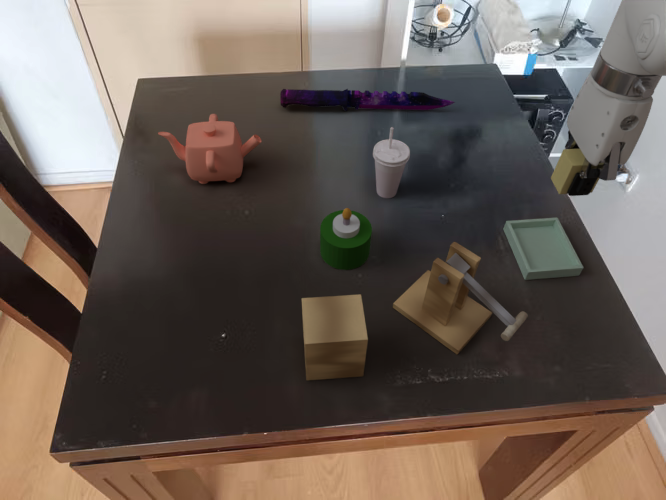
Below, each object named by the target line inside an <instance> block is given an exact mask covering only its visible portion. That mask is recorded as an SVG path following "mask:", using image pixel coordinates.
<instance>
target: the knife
mask: <svg viewBox="0 0 666 500" xmlns="http://www.w3.org/2000/svg"><path fill="white" fill-rule="evenodd" d="M279 96H280V99H279V100H280V106H281V107H282V108H283V109H286V108H288V106H305V107H309V108H327V107H338V106H340V107H341V108H342V109H343V111H344V112H348V108H354V110H357V111H358V110H359V109H363V110H364V109H366V110H367V109H370V110H372V109H373V110H411V111H430V110H436V109H441V108H445V107H448V106H451V105H453V104H455V103H456V101H453V100H449V99H445V98H440V97H435V96H432V95H429V94H428V93H425V92H421V91H410V92H409V93H407V92H406V91H404V90H403V91H401V92H400V93H399V92H397V90H392V91H391V92H389V91H386V90H383V91H382V92H380V91H378V90H373V92H371V91H369V90H365V91H364V92H362V91H361V90H359V89H356V90H355V89H349V88H346V89H343V90H341V89H340V90H338V89H337V90H335V89H334V90H333V89H331V90H330V89H288V88H287V89H286V88H283V89H281V90H280V95H279Z"/></svg>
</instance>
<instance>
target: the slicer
mask: <svg viewBox="0 0 666 500" xmlns="http://www.w3.org/2000/svg"><path fill="white" fill-rule="evenodd" d="M455 253H457V254H458V255H459V256H460V257H461V258H462V259H463V260H464V261H465V262H466V263H467V264H468V265H469V266H470V268H469V269H468V270H467V271H466V272H467V273H468V274H469V275H470V276H471V277H472V278H473V279H474V280H475V276H476V274H477V271H478V268H479V266H480V262H481V260H482V258H481V256H479V255H477V254H475V253H474V252H473V251H471V250H469V249H468V248H466V247H465V246H463V245H461V244H459V243H458V242H457V241H453V242H452V243H451V244H450V245H449V250H448V252H447V257H446V259H445V261H444V260H443V259H441V258H439V257H436V258H435V259H434V260H433V262H432V266H431V270H429V269H427V270H426V271H425V272H424V273H423V274H422V275H421V276H420V277H419V278H418V279H417V280H416V281H415V282H414V283H413V284H411V286H410V287H408V288H407V289H406V290H405V292H403V293H402V294H401V295H400V296H399V297H398V298H397V299H396V300H395V301H394V302H393V303H392V308H393V309H394V310H395V311H397V312H398V313H399V314H401V315H402V316H403V317H405V318H406V319H408V320H409V321H410V322H412V324H414V325H416V326H417V327H418V328H420V329H421V330H422V331H424V332H425V333H426V334H428V335H429V336H430V337H432V338H434V339H435V340H436V341H437V342H439V343H440V344H442V345H443V346H444V347H446V348H447V349H449V351H451V352H452V353H454V354H455V355H459V354H460V353H461V352H462V351H463V349H464V348H465V347H466V346H467V344H469V342H470V341H471V340H472V339H473V338H474V337H475V336H476V334H477V333H478V332H479V331H480V329H482V327H484V325H485V324H486V323H487V322H488V321H489V320H490V318H492V315H493V312H492V311H491V310H490V309H489V308H486V306H483V305H482V304H480V303H479V302H478V301H475V300H474V299H473V298H472V297H470V296H469V293H470V292H471V290H470V289H468V288H467V287H466V286H465V285H464V284H463V283H462V282H463V279H464V276H465V275H464V274H462V273H461V272H459V271H458V270H456V269H455V268H453V267H452V266H450V265H449V264H447V263H446V262H447V261H448V260H449V259H450V258H451V257H452V256H453V255H454V254H455Z"/></svg>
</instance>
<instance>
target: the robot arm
mask: <svg viewBox="0 0 666 500" xmlns="http://www.w3.org/2000/svg"><path fill="white" fill-rule="evenodd" d="M662 77H666V0H621V1H620V4H619V6H618V8H617V11H616V13H615V15H614V18H613V20H612V23H611V25H610V26H609V30H608V32H607V33H606V36H605V39H604V41H603V43H602V46H601V48H600V50H599V53H598V55H597V57H596V59H595V62H594V64H593V66H592V69H591V71H590V72H589V73H588V75H587V77H586V78H585V80H584V82H583V83H582V85H581V87H580V89H579V91H578V92H577V95H576V97H575V99H574V101H573V102H572V106H571V107H570V111H569V113H568V115H567V120H566V125H567V126H566V127H567V128H568V129H567V130H568V131H567V135H568V138H567V139H568V140H567V142H566V143H565V144H564V149H580V150H581V151H582V153H583V155H584V156H585V160H584V163H583V165H582V168H581V171H580V173H576V175H575V177H574V179H573V181H572V183H571V185H570V187H569V189H568V191H567V194H566V195H567V196H569V197H577V196H578V197H579V196H589V195H590V194H591V193H590V192H591V190H592V188H593V186H594V184H595V183H596V181H597V179H598V178H599V180H602V181H606V182H607V181H616V180H617V176H618V169H619V166H623V165H626V164H627V162H628V161H629V159H630V158H631V155H632V154H633V152H634V150H635V148H636V146H637V144H638V142H639V141H640V140H639V139H640V137H641V135H642V132H643V131H644V128H645V126H646V123H647V121H648V118H649V116H650V113H651V110H652V106H653V102H654V98H653V95H654V93H655V90H656V88H657V87H658V85H659V83H660V81H661V79H662ZM592 165H593V166H597V165H598V166H597V168H594V169H591V166H592Z"/></svg>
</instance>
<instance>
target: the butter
mask: <svg viewBox="0 0 666 500" xmlns="http://www.w3.org/2000/svg"><path fill="white" fill-rule="evenodd" d="M584 160H585V156H584V155H583V153H582V151H581V150H580V149H565V148H564V149H562V151H561V153H560V156H559V158H558V161H557V163H556V166H555V168H554V170H553V172H552V174H551V176H550V179H551V181H552V183H553V186H554V187H555V189H556V191H557V193H558V195H568V194H567V191H568V189H569V187H570V185H571V183H572V181H573V179H574V177H575V175H576V173H580V171H581V168H582V165H583V163H584ZM597 166H598V165H597ZM597 166H593V165H592V166H591V169H594V168H597ZM599 180H600V179H599V178H598V179H597V181H596V183H595V184H594V186H593V188H592V190H591V192H590V194H592V193H593V192H594V190H595V188H596V186H597V184H598V183H599Z"/></svg>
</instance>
